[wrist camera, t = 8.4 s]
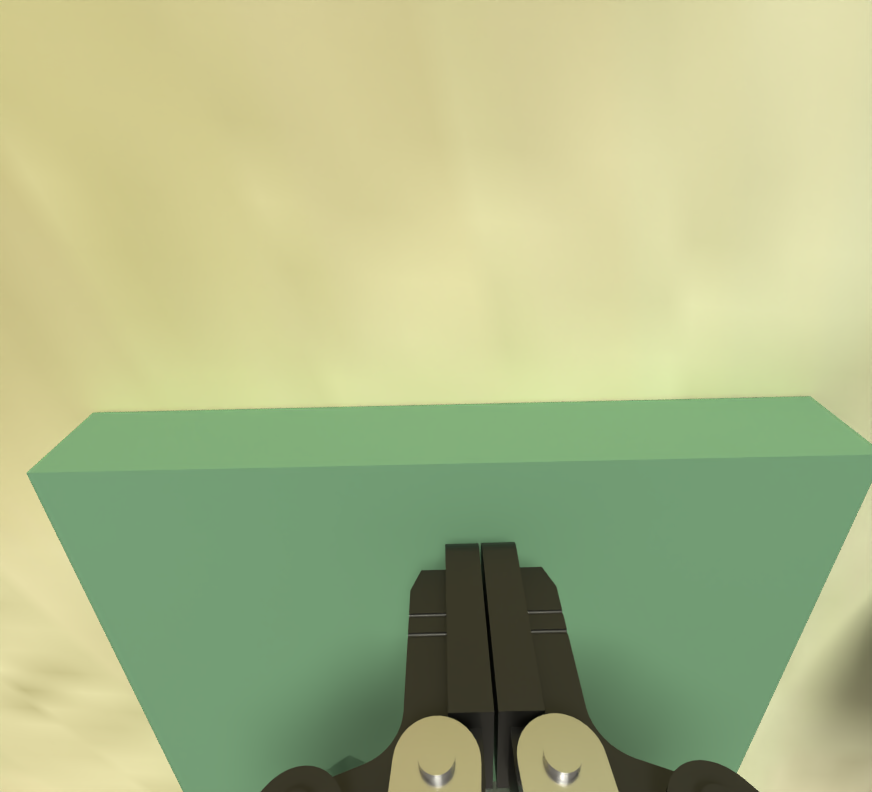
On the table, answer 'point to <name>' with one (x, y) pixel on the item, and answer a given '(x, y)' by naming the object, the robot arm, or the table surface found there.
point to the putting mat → (425, 550)
